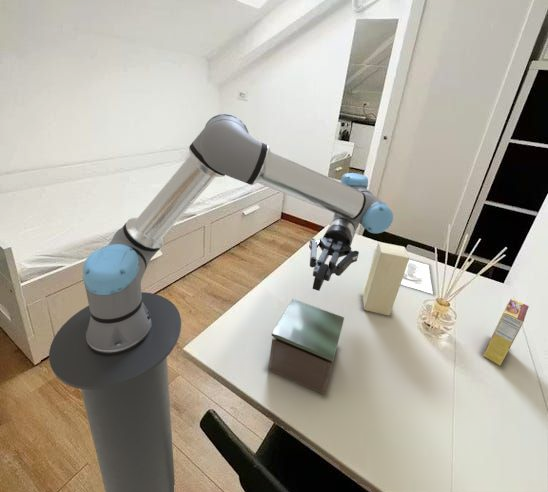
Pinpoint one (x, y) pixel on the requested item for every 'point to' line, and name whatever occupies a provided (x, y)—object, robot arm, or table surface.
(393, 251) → the toy refrigerator
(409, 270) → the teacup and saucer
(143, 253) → the robot arm
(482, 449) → the table surface
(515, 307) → the candy box
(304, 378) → the chest
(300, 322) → the chest lid
